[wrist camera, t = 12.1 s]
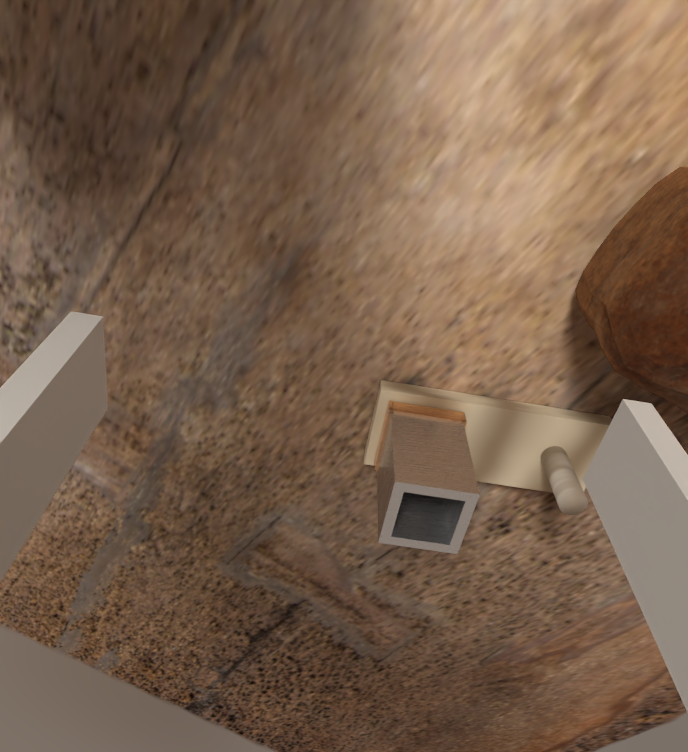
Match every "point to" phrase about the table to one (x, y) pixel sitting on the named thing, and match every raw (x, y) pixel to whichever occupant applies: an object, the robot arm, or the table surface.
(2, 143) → the table surface
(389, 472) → the sleeve
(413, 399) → the pin board
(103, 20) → the table surface
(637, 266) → the bread
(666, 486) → the robot arm
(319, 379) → the table surface
